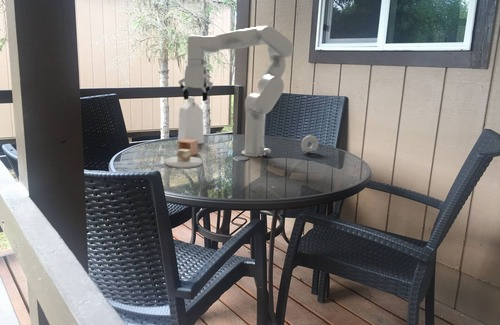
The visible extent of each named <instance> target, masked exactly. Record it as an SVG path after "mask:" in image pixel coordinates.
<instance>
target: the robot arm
mask: <svg viewBox="0 0 500 325" xmlns="http://www.w3.org/2000/svg"><path fill="white" fill-rule="evenodd" d="M260 45H261V46H262V45H267V46H268V47H267V50H268V51H267V52H268V55H269V64H268V66H267V68H266V69H265V71H264V73H263V74H262V76H261V77H260V79H259V80H258V83H257V88H258V90H259V92H260V93H258V92H252V93H249V94H248V95H247V96H246V98H245V100H244V110H245V133H244V150H242V151H241V155H242V154H243V155H242V156H245V157H251V158H252V157H253V158H255V157H257V158H258V156H260V157H264V156H266V154H270V153H271V152H272V150H271V149H270V148H266V146H265V145H264V133H265V116H264V115H267V114H268V113H270V112H271V111H272V110H273V108H274V106H275V105H276V104H277V102H278V100H279V99H280V98H281V95H282V94H283V92H284V89H285V83H284V80H283V78H282V77H283V75H284V72H285V70H286V68H287V67H286V65H287V64H286V63H287V61H286V58H290V57H291V56H292V54H293V53H294V44H293V42H292V41H291V40H290V39H288V37H287V36H285V35H284V34H282V33H281V32H280V31H279V30H278V29H276V28H274V27H273V26H270V25H259V26H255V27H249V28H242V29H237V30H232V31H228V32H224V33H217V34H211V35H205V36H203V35H198V34H191V35H188V37H187V65H186V66H185V69H184V77H183V78H181V79H180V80H178V84H179V88H181V90H182V92H183V99H184V100H188V96H189V89H190V88H193V89H201V90H202V91H203V92H202V101H203V102H206V101H208V93H209V91H210V90H211V89H212V87H213V85H214V83H213V82H212V81H210V80H208V74H207V67H206V66H205V65H206V64H207V60H205V53H217V52H219V51H223V50H236V49H237V50H239V49H244V48H249V47H250V48H251V47H255V46H260ZM263 155H264V156H263Z"/></svg>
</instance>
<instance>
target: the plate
mask: <svg viewBox="0 0 500 325" xmlns="http://www.w3.org/2000/svg"><path fill="white" fill-rule="evenodd" d="M202 164H203V159H201V158H199V157H195V156H190V161H187V162H181V161H177V156H172V157H168V158H166V159H165V160H164V165H166V166H169V167H173V168H177V169H178V168H179V169H181V168H183V169H185V168H186V169H188V168H189V169H190V168H196V167H199V166H202Z"/></svg>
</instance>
